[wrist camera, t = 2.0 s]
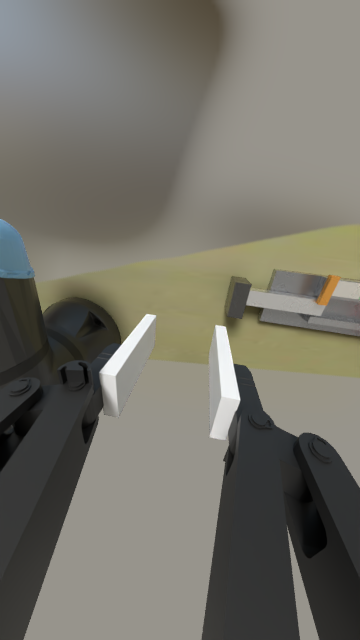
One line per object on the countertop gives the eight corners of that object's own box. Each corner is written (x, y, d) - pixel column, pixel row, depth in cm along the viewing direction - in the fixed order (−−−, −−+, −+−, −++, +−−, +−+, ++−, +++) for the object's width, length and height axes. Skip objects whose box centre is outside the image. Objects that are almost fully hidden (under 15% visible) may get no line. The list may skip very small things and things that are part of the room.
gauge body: (257, 317, 29) (265, 330, 25) (274, 269, 26) (286, 274, 22) (387, 337, 28) (417, 354, 24) (422, 288, 24) (465, 298, 20)
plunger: (224, 306, 28) (227, 316, 24) (235, 261, 25) (239, 265, 21) (309, 319, 27) (326, 332, 23) (331, 273, 24) (354, 280, 20)
